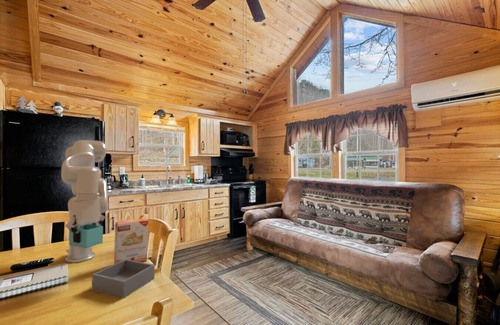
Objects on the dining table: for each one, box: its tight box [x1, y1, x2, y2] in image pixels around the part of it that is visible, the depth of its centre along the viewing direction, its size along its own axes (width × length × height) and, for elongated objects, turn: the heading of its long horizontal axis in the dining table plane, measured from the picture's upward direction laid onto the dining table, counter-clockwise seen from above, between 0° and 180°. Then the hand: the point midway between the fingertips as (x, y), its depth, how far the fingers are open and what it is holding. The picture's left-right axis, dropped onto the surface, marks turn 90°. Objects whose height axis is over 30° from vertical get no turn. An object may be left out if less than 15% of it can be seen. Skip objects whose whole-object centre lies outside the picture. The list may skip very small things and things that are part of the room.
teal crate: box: [68, 224, 104, 248], centre depth 101 cm, size 10×7×7 cm
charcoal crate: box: [91, 259, 156, 299], centre depth 99 cm, size 16×16×6 cm
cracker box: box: [113, 218, 149, 265], centre depth 119 cm, size 14×6×21 cm, turn 129°
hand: (86, 239), depth 101 cm, fingers closed on teal crate, 7 cm apart
